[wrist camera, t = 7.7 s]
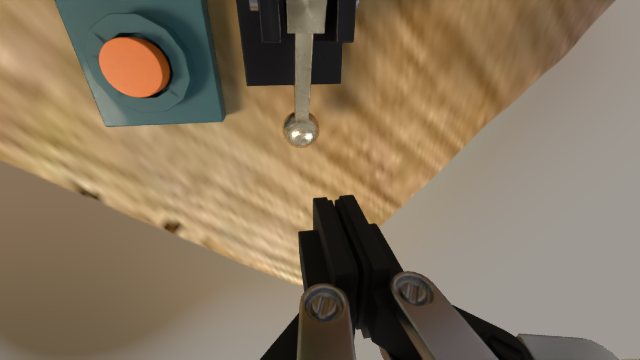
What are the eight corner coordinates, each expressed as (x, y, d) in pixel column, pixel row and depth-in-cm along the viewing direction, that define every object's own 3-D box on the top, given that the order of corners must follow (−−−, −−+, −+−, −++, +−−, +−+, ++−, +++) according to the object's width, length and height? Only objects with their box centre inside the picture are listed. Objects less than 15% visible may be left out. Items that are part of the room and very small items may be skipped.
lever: (315, 129, 25) (320, 154, 23) (282, 130, 25) (284, 156, 23) (330, -43, 14) (341, -22, 13) (271, -46, 14) (275, -24, 12)
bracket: (338, 81, 27) (380, 110, 16) (247, 84, 25) (233, 116, 15) (343, -77, 21) (414, -183, 11) (226, -85, 20) (180, -216, 9)
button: (122, 94, 21) (111, 98, 19) (102, 37, 19) (88, 37, 17) (176, 92, 21) (169, 96, 20) (162, 37, 19) (152, 37, 18)
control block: (117, 120, 25) (93, 133, 21) (69, -8, 20) (28, -17, 17) (226, 115, 26) (219, 127, 23) (205, -5, 22) (193, -12, 18)
